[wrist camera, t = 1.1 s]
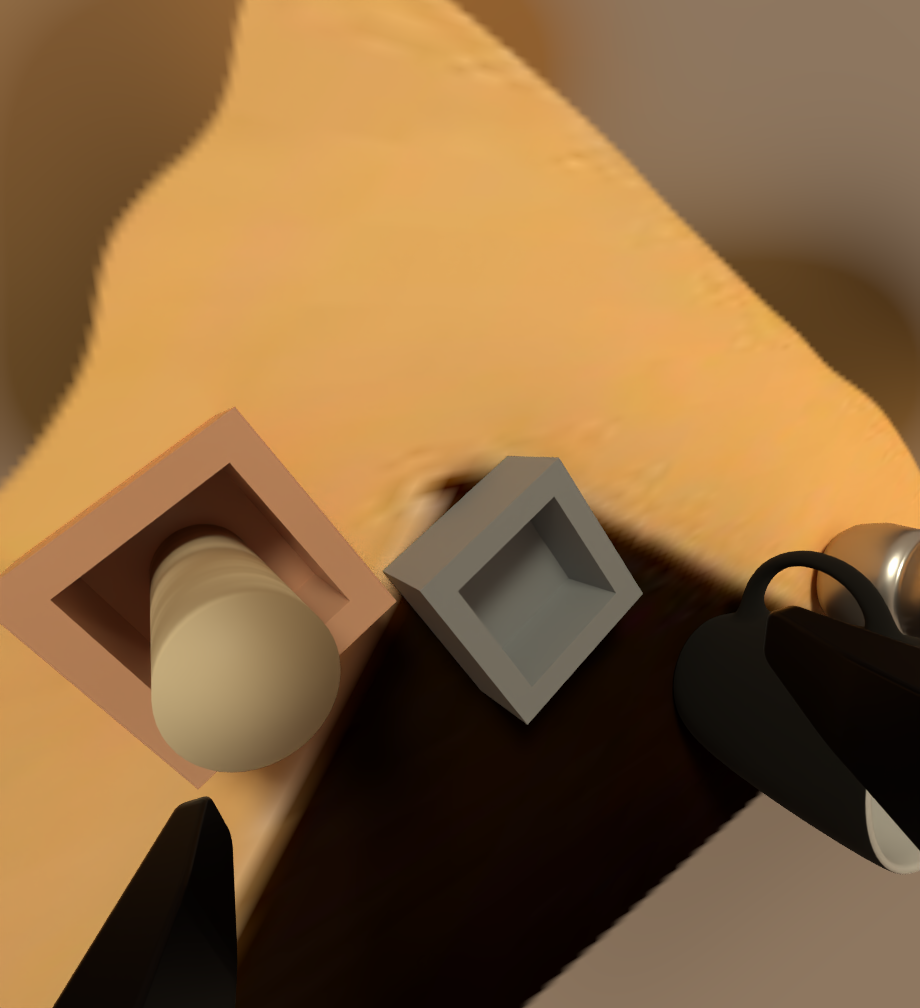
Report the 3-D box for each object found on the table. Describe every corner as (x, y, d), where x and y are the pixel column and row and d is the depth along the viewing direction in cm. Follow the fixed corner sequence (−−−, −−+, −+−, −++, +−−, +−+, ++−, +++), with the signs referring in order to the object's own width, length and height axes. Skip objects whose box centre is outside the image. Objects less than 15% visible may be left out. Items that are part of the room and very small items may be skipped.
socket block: (480, 690, 25) (527, 724, 22) (382, 571, 23) (419, 590, 20) (586, 576, 27) (642, 593, 24) (507, 456, 25) (558, 457, 22)
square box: (187, 713, 20) (198, 789, 15) (15, 560, 17) (-29, 599, 13) (346, 570, 22) (396, 601, 18) (215, 415, 19) (235, 406, 15)
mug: (769, 725, 35) (986, 823, 26) (655, 779, 31) (865, 917, 22) (766, 522, 33) (998, 551, 24) (646, 551, 29) (869, 598, 20)
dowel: (196, 637, 19) (240, 807, 10) (126, 569, 18) (105, 692, 9) (272, 573, 20) (373, 676, 11) (209, 504, 19) (265, 557, 10)
